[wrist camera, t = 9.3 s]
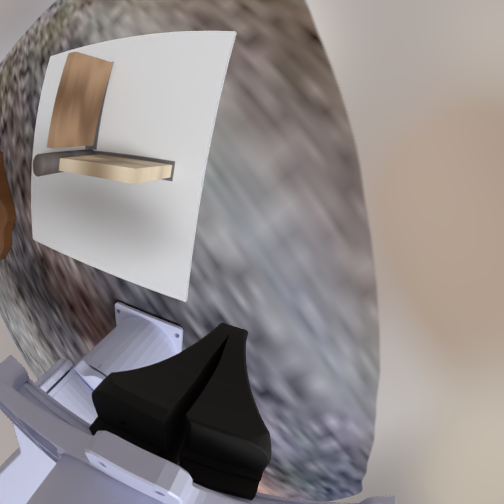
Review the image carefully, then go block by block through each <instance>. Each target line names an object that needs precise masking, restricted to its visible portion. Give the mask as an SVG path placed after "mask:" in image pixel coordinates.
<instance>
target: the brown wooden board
mask: <svg viewBox="0 0 504 504" xmlns="http://www.w3.org/2000/svg"><path fill="white" fill-rule="evenodd" d="M112 66H113V63H112V62H109V61H106V60H103V59H99V58H96V57H93V56H90V55H86V54H83V53H79V52H71V53H68V56H67V59H66V62H65V66H64V69H63V72H62V76H61V79H60V83H59V87H58V91H57V95H56V99H55V103H54V108H53V113H52V118H51V123H50V129H49V135H48V142H47V147H48V148H65V147H80V146H93V145H94V139H95V134H96V128H97V124H98V119H99V114H100V110H101V106H102V102H103V98H104V94H105V90H106V86H107V83H108V79H109V76H110V73H111V69H112Z"/></svg>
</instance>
